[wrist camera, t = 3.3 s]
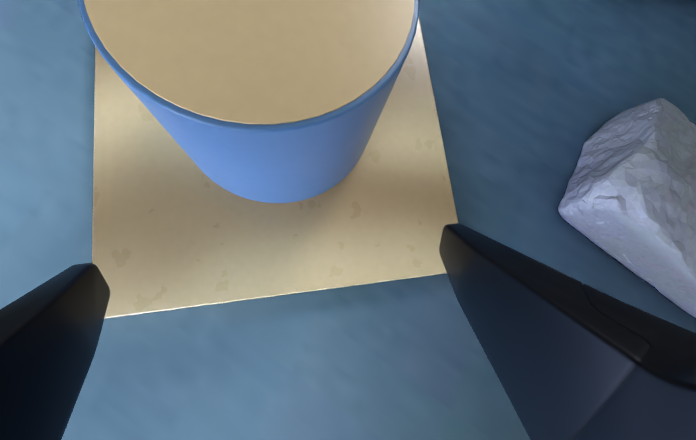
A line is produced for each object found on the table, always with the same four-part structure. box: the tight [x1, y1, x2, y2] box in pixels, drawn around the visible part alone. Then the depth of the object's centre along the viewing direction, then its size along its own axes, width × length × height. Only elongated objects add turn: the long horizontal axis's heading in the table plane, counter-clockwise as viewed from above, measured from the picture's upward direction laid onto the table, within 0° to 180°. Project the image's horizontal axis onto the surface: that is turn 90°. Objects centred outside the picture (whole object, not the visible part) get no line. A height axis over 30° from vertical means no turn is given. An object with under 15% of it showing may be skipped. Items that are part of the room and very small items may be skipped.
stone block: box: [558, 98, 696, 318], centre depth 19 cm, size 12×5×10 cm
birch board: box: [92, 18, 458, 319], centre depth 19 cm, size 27×18×1 cm, turn 7°
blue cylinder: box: [78, 0, 419, 203], centre depth 14 cm, size 10×10×8 cm
